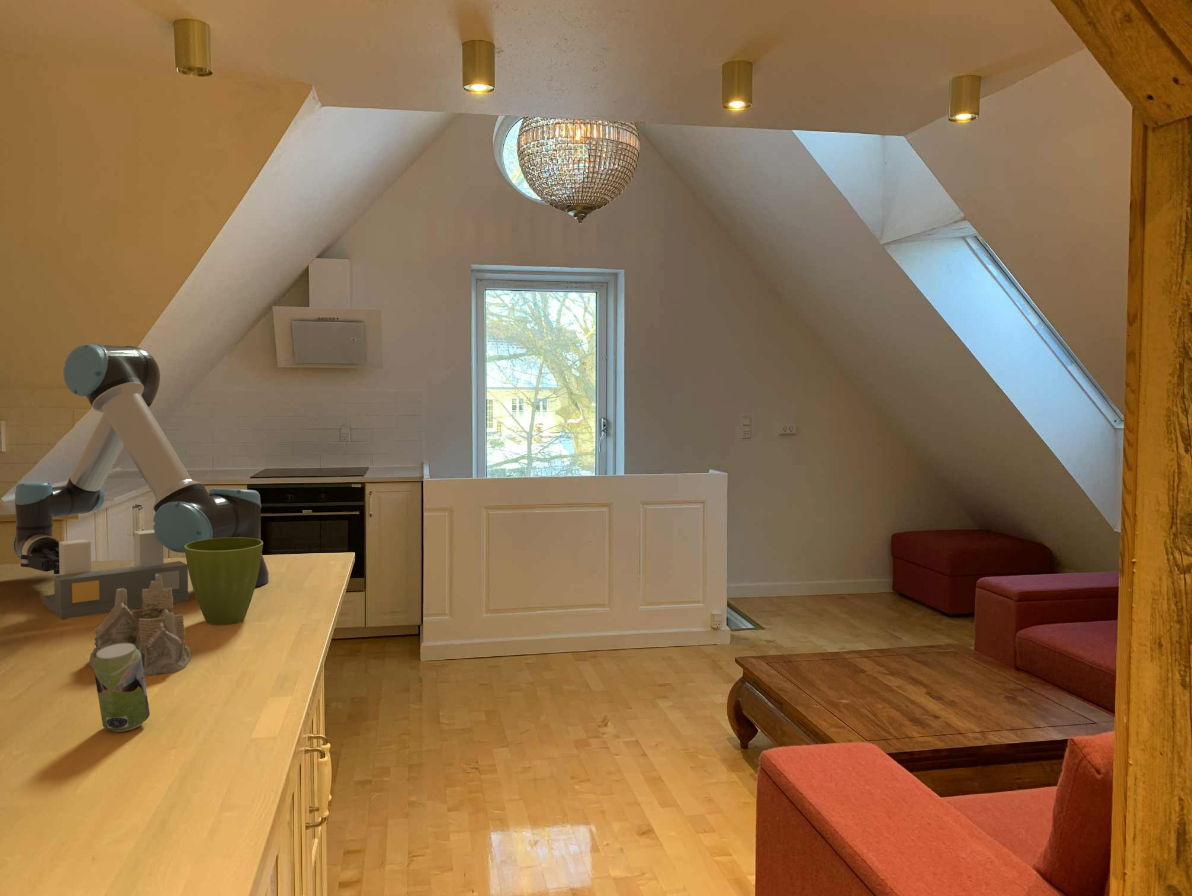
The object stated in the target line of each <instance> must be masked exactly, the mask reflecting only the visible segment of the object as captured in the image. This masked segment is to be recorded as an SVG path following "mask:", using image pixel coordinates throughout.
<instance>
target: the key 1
mask: <svg viewBox="0 0 1192 896" xmlns="http://www.w3.org/2000/svg"><path fill="white" fill-rule="evenodd" d="M91 544H92V543H91V541H90V540H87V539H75V540H65V541H64V540H63V541H60V542H59V568H60V574H59V575H66V574H75V573H83V572H91V571H92V546H91Z"/></svg>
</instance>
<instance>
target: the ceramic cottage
mask: <svg viewBox="0 0 1192 896" xmlns="http://www.w3.org/2000/svg"><path fill="white" fill-rule="evenodd" d="M126 592H127V590H126V589H124V588H121V589H117V590H116V597H115V606H114V607H113V609H111V612H108V615H107V616H106V617H105V618H104V619H103V620H102V622H101V623H100V624H99V625H98V626H97V627H95V628H94V633H95V638H94V641H95V642H94V645H95V647H94V648H93V649H92V652H90V656H89V661H88V665H89V667H90V668H91V669H92V670H94V667H93V663H94V660H95V658H96V657H97V656H96V654H97V652H98V651H99V650H100V649H102V648H104V647H106V646H109V645H113V644H117V643H132V644H134V645H135V647H136V649H137V650H139V652H140V653H141V657H142V664H143V671H144V677H145V676H146V677H148V676H155V675H159V674H170V673H176V672H180V671H181V670H183V669H185V667H187V665H188V664H189V663H190V662H191V660H192V655H191V648H190V647H189V646H188V645H186V643H185V640H186V632H185V623H184V622H185V621H184V620H185V619H184V615H183V613H180V614H175V613H174V612H172V611H173V609H174V605H173V604H174V603H173V596H172V589H171V587H170V588H164V587H163V582H162V577H161V575H158V574H157V575H155V580H154V581H151V584H150V587H149V589H142V593H141V600H142V603H141V605H142V607H141V609H140V608H139V609H128V607H127V593H126Z"/></svg>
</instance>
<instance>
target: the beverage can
mask: <svg viewBox="0 0 1192 896" xmlns="http://www.w3.org/2000/svg"><path fill="white" fill-rule="evenodd" d="M96 656H97V657H96V658H95V660H94V663H93V667H94V669H93V672H94V678H95V679H94V680H95V685H96V691H97V698H98V703H99V705H98V706H99V710H100V716H101V717H100V718H101V724H102V727H103V728H104V729H106V730H109V731H111V732H114V733H124V732H128V731H132V730H134V729H136V728H138V727H140V726H141V725H142V724H144V722H146V721H147V720H148V719H149V717H150V715H151V714H150V713H151V712H150V706H149V700H148V692H147V685H146V679H145V676H144V671H143V664H142V657H141V653H140V652H139V650H137V649H136V647H135V645H134V644H132V643H117V644H113V645H109V646H106V647H104V648H102V649H100V650H99V651H98V652H97V654H96Z"/></svg>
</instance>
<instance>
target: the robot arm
mask: <svg viewBox="0 0 1192 896" xmlns="http://www.w3.org/2000/svg"><path fill="white" fill-rule="evenodd" d="M63 381H64V383H65V386H66V387H67V389H68V390H69V391H70V392H71V393H72V394H74V395H77V396H79V397H85V398H86V399H87V401H88V402H89V404H90V406H91V407H92V408H93V410H94V411H96V412H100V413H103V414H102V415H101V417H100V419H99V420H98V422H97V424H96V427H95V429H94V431H93V432H92V435H91V436H90V439H89V440H88V442H87V444H86V446H85V448H84V450H83V452H82V454H80V457H79V460H77V463H76V466H75V468H74V469H73V471H72V473H71V475H70V477H69V478H68V480H67V482H66V484H65V485H62V486H52V483H51V481H46V480H32V481H21V482H18V483H17V485H16V486H15V492H14V508H15V536H14V538H13V541H12V549H13V551H14V553H15V554H16V555H17V557H18V558H19V559H20V567H22V568H29V569H34V570H38V571H41V572H45V573H46V572H47V573H48V572H51V571H53V575H60V568H59V542H61V541H59V540H58V539H56V538H55V537H53V536H54V535H53V534H54V533H53V526H54V523H53V521H54V519H55V518H56V519H57V518H64V517H66V516H67V517H68V516H74V515H75V516H76V515H83V514H87V513H92V512H94V511H98V510H99V509H101V508H102V506H103V505H104V504H105V503H104V502H105V496H106V494H105V492H104V489H103V486H104V484H105V482H106V480H107V478H108V476H109V475H110V474H111V473H110V472H111V471H112V469H113V467H114V465H115V463H116V461H117V460H118V458H119V456H120V454H121V452H122V450H123V448H125V450H126V451H127V453H128V455H129V456H130V458H131V460H132V461H133V463H134V464H135V466H136V468H137V469H138V471H139V473H140V475H141V477H142V478H143V480H144V481H145V483H146V484H147V486H148V488H149V489H150V490H149V491H151V493H152V494H153V497H154V498H155V502H154V504H153V505H152V506H153V507H152V508H153V510H154V512H155V513H154V516H153V523H154V525H152V526H153V530H154V532H155V535H156V537H157V538H158V540H159V541H160V542H161V544H162V545H163V547H164V548H165V549H168V550H170V551H171V552H175V553H180V554H181V553H182V554H185V549H184V546H185V545H186V544H188V543H190V542H194V541H198V540H204V539H213V538H227V537H241V538H254V539H259V540H261V541H262V539H261V537H262V535H261V534H262V533H261V531H262V529H261V528H262V522H261V521H262V519H261V518H262V517H261V516H262V515H261V514H262V511H261V510H262V504H261V495H260V493H259V491H257V490H253V489H239V488H223V487H222V488H219V487H211V488H209V490H207V488H206V486H205V485H204V483H202V482H200V481H197V480H193V479H192V477H191V476H190V474H189V473H188V470H187V469H186V467H185V466H184V464H183V463H182V461H181V459H180V457H179V456H178V454H177V453H176V450H175V449H174V448H173V446H172V444H171V443H170V441H169V439H168V438H167V437H168V436H166V434H165V432H164V431H163V429H162V428H161V426H160V424H159V422H158V421H157V419H156V418H155V416H154V414H153V413H152V411H151V410H150V407H151V405H153V402H154V400H155V398H156V396H157V393H158V391H159V387H160V383H161V371H160V367H159V365H158V363H157V360H156V359H155V358H154V357H153V355H152V354H150V352H148V351H147V350H145V349H143V348H140V347H138V346H133V345H110V344H109V345H108V344H101V343H92V344H89V343H88V344H80V345H78V346H76V347H75V348H73V349H72V350H71V351H70V352H69V354H68V355H67V356H66V359H65V361H64V367H63ZM269 579H270V578H269V570H268V567H267V564H266V561H265V558H264V556H263V554H262V555H261V562H260V568H259V573H258V577H257V581H256V585H255V588H256V587H260V586H263V585H266V584H267V583H269V581H270V580H269Z"/></svg>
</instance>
